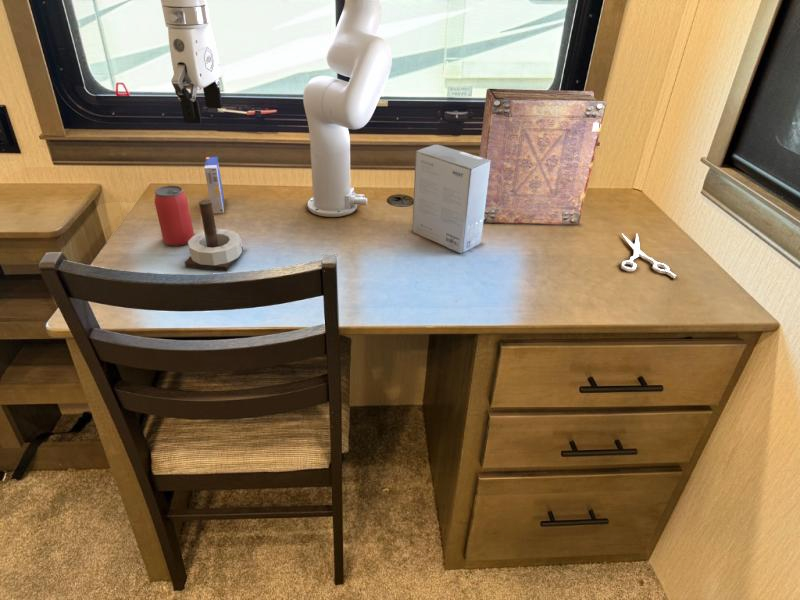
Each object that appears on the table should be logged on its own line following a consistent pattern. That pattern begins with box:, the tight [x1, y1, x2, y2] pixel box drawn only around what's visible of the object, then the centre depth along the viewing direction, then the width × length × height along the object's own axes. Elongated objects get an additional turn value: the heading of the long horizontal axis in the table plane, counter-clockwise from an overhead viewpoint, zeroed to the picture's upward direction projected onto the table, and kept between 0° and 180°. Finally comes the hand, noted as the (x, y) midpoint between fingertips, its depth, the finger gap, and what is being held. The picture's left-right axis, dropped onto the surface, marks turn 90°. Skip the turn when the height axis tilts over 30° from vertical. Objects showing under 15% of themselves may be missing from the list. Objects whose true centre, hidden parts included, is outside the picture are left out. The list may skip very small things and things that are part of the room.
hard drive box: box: [411, 143, 491, 254], centre depth 125 cm, size 16×8×20 cm, turn 47°
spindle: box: [184, 199, 244, 272], centre depth 115 cm, size 9×9×13 cm
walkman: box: [203, 156, 225, 214], centre depth 137 cm, size 8×3×12 cm, turn 13°
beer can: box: [154, 185, 195, 247], centre depth 122 cm, size 7×7×12 cm
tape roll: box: [187, 228, 243, 265], centre depth 118 cm, size 10×10×3 cm
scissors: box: [620, 232, 677, 279], centre depth 127 cm, size 11×1×20 cm
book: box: [478, 88, 607, 226], centre depth 133 cm, size 25×9×30 cm, turn 91°
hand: (204, 114), depth 107 cm, fingers open, 9 cm apart
